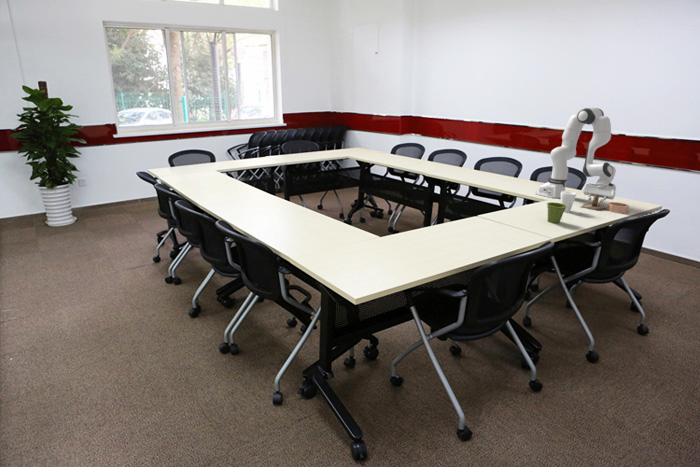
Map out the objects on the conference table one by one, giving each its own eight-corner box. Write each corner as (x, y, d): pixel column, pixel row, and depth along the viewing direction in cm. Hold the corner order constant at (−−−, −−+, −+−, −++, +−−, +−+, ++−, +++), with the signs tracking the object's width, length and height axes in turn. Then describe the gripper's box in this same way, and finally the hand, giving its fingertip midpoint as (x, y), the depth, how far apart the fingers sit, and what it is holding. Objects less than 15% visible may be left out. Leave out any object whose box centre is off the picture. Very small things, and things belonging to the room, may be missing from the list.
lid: (580, 207, 318) (582, 195, 315) (587, 204, 327) (589, 192, 324) (601, 211, 309) (604, 198, 306) (607, 208, 318) (610, 195, 315)
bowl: (605, 211, 312) (606, 204, 310) (610, 208, 320) (611, 201, 318) (624, 214, 304) (625, 207, 302) (629, 211, 312) (630, 204, 310)
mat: (579, 207, 318) (579, 207, 318) (586, 204, 328) (586, 203, 328) (600, 211, 309) (600, 211, 309) (606, 208, 319) (606, 207, 318)
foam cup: (574, 213, 303) (577, 194, 299) (559, 212, 305) (563, 193, 301) (570, 209, 312) (573, 191, 308) (556, 208, 314) (559, 190, 310)
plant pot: (549, 224, 277) (552, 207, 273) (540, 219, 288) (543, 202, 284) (567, 224, 278) (571, 207, 274) (557, 219, 289) (560, 202, 285)
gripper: (586, 180, 324) (579, 195, 321) (617, 185, 311) (610, 201, 307) (587, 185, 329) (580, 200, 325) (618, 190, 315) (611, 206, 312)
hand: (595, 201), depth 316 cm, fingers open, 6 cm apart
